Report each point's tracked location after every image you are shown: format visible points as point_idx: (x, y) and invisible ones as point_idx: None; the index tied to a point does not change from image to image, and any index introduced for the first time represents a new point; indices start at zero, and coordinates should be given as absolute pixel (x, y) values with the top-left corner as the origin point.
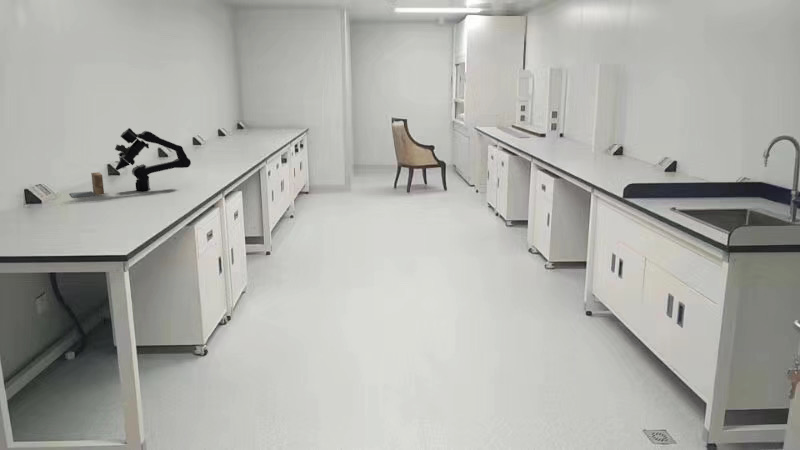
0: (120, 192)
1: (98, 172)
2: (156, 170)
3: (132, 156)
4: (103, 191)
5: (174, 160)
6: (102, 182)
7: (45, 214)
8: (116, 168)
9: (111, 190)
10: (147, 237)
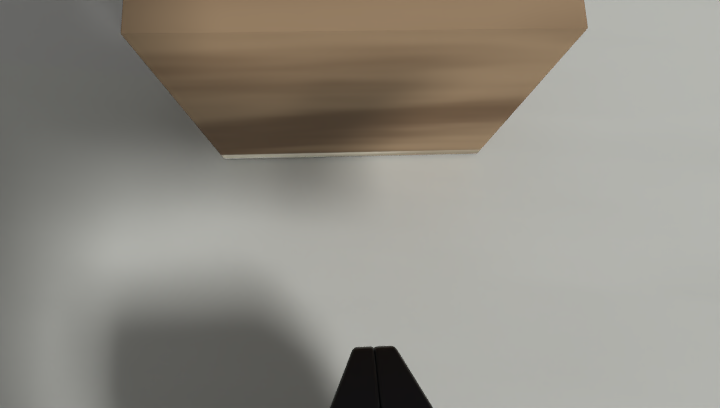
0: (338, 354)
1: (576, 15)
2: None
3: None
4: (214, 142)
5: None
6: (173, 92)
7: None
8: (340, 381)
9: (543, 272)
10: None
